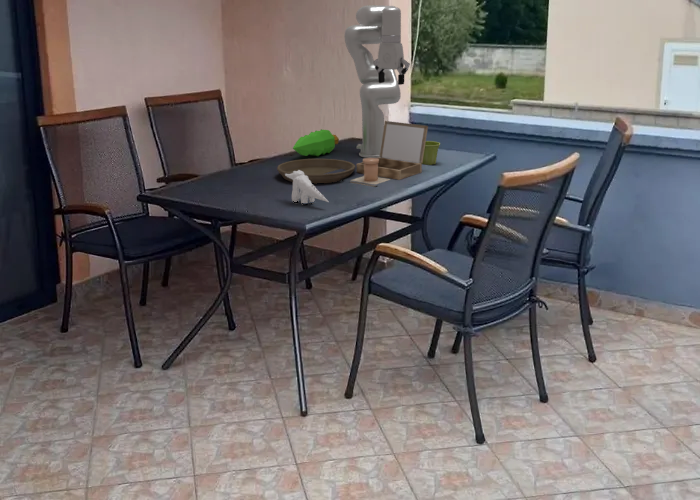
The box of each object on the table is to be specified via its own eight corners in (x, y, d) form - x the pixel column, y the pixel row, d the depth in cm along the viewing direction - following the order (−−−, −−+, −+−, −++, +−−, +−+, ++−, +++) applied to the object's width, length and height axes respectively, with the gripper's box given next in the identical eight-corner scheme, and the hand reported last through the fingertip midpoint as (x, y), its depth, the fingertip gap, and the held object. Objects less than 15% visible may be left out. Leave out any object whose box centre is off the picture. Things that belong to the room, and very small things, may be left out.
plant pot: (439, 161, 371) (440, 141, 368) (439, 166, 362) (440, 145, 359) (417, 161, 372) (417, 141, 369) (417, 166, 363) (417, 145, 360)
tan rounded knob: (359, 180, 337) (359, 159, 334) (369, 177, 341) (369, 157, 339) (372, 182, 333) (372, 161, 330) (382, 179, 338) (382, 158, 335)
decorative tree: (339, 123, 391) (297, 131, 367) (347, 148, 392) (306, 158, 368) (320, 131, 398) (278, 139, 374) (328, 155, 399) (286, 165, 375)
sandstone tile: (350, 182, 337) (350, 180, 337) (366, 177, 345) (366, 175, 344) (375, 187, 330) (375, 184, 330) (390, 181, 338) (390, 179, 337)
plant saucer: (319, 164, 370) (318, 154, 368) (371, 176, 349) (371, 164, 347) (261, 177, 349) (261, 166, 348) (313, 190, 328) (313, 178, 327)
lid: (385, 120, 357) (386, 121, 358) (379, 156, 359) (380, 157, 360) (427, 125, 345) (428, 126, 346) (421, 163, 347) (422, 163, 347)
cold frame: (356, 175, 349) (356, 163, 348) (379, 168, 360) (379, 157, 359) (399, 182, 337) (399, 170, 335) (421, 174, 348) (421, 163, 347)
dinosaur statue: (292, 193, 320) (293, 164, 315) (336, 212, 304) (337, 181, 299) (277, 197, 315) (278, 167, 311) (321, 216, 299) (322, 185, 295)
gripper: (368, 39, 348) (368, 83, 354) (403, 41, 338) (403, 86, 343) (379, 38, 354) (379, 80, 359) (414, 40, 343) (414, 84, 349)
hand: (391, 83), depth 351 cm, fingers open, 9 cm apart
